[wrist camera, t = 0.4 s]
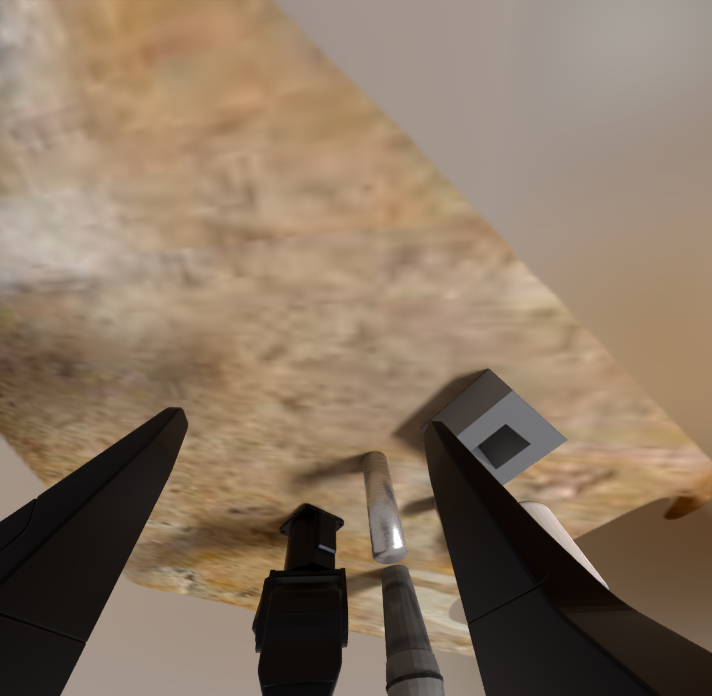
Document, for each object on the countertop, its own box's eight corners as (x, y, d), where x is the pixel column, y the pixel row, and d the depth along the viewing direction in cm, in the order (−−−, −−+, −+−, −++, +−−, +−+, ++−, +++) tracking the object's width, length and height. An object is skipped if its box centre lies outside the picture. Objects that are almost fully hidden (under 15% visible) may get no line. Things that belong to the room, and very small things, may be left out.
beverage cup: (380, 558, 40) (417, 826, 22) (423, 561, 42) (491, 816, 24) (368, 583, 43) (391, 838, 25) (408, 585, 45) (458, 829, 26)
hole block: (473, 464, 33) (491, 493, 29) (421, 428, 30) (432, 455, 26) (539, 414, 30) (567, 439, 27) (489, 368, 27) (512, 390, 23)
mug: (555, 522, 40) (615, 600, 31) (501, 545, 41) (544, 626, 33) (532, 480, 35) (595, 559, 27) (472, 508, 37) (513, 591, 28)
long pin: (375, 472, 32) (390, 567, 23) (356, 462, 31) (365, 557, 22) (391, 458, 31) (414, 551, 22) (373, 447, 30) (389, 539, 21)
